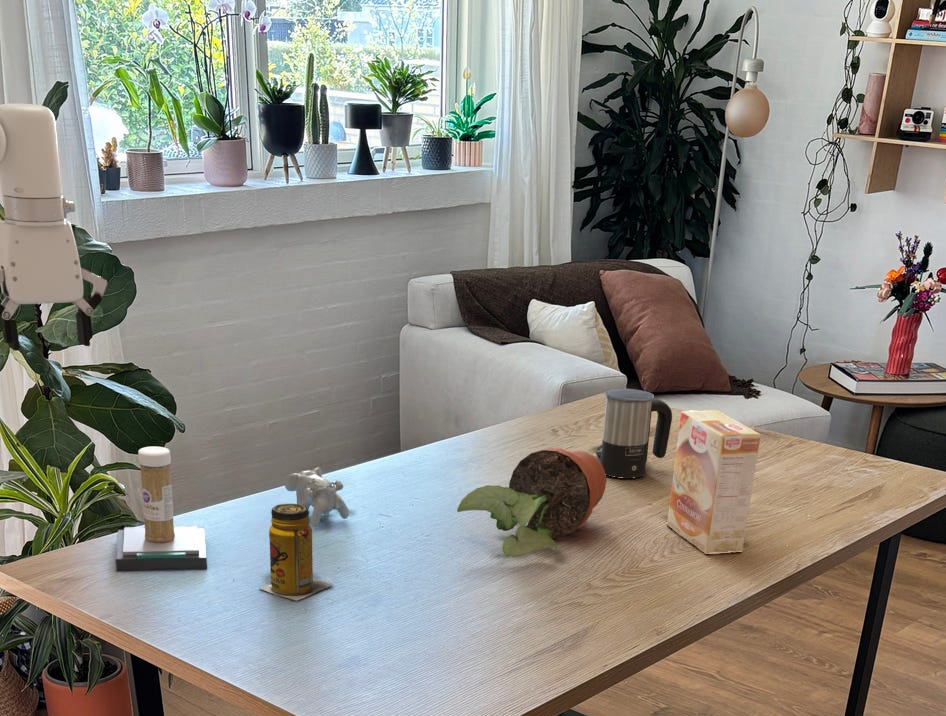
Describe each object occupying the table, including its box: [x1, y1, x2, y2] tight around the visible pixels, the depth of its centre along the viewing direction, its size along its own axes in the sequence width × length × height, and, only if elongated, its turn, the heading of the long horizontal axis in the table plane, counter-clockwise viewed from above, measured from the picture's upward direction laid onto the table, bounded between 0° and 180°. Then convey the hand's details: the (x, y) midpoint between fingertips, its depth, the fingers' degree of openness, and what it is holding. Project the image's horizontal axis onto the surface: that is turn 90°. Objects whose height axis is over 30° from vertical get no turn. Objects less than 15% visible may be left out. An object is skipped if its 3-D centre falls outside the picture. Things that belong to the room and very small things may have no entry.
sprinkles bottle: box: [137, 446, 175, 543], centre depth 193 cm, size 5×5×14 cm
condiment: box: [258, 503, 335, 602], centre depth 185 cm, size 7×8×12 cm
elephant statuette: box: [284, 466, 350, 528], centre depth 213 cm, size 9×12×8 cm
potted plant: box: [456, 447, 607, 558], centre depth 206 cm, size 16×15×35 cm
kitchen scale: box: [115, 525, 208, 572], centre depth 196 cm, size 13×13×2 cm
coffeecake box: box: [666, 409, 762, 553], centre depth 212 cm, size 15×7×20 cm, turn 18°
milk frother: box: [595, 388, 673, 478], centre depth 248 cm, size 14×16×15 cm
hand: (49, 346), depth 179 cm, fingers open, 9 cm apart
